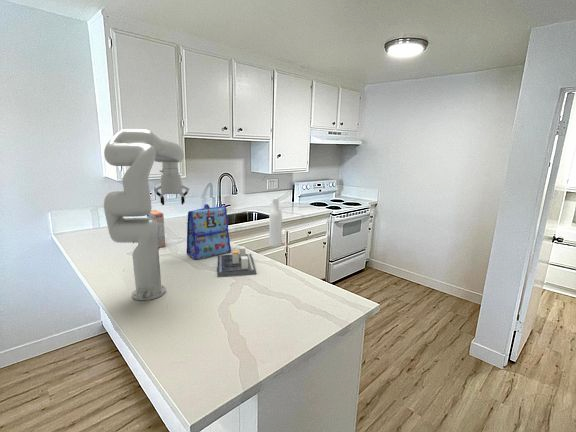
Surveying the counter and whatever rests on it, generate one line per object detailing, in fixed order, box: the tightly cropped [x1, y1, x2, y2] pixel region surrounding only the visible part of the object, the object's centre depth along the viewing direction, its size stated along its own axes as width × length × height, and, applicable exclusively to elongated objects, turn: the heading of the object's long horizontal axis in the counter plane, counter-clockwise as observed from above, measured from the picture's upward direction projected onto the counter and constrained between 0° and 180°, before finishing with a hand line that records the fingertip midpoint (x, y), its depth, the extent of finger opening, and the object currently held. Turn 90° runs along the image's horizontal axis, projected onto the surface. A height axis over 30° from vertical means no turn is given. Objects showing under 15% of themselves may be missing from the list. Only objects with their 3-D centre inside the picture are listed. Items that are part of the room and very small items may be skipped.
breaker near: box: [241, 256, 248, 269], centre depth 147 cm, size 4×3×5 cm
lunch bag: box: [185, 203, 232, 261], centre depth 171 cm, size 22×14×29 cm, turn 129°
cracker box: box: [146, 209, 166, 249], centre depth 186 cm, size 14×6×21 cm, turn 41°
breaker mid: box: [231, 249, 239, 264], centre depth 153 cm, size 4×3×6 cm
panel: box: [216, 253, 257, 278], centre depth 154 cm, size 24×18×2 cm
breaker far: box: [238, 245, 247, 258], centre depth 162 cm, size 4×3×5 cm
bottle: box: [268, 196, 283, 248], centre depth 186 cm, size 8×8×30 cm
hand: (173, 204), depth 160 cm, fingers open, 9 cm apart
